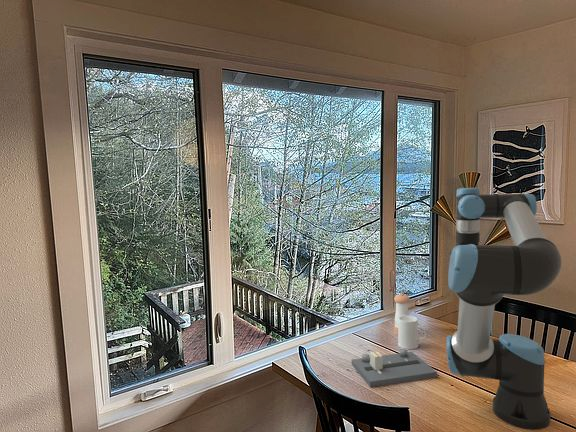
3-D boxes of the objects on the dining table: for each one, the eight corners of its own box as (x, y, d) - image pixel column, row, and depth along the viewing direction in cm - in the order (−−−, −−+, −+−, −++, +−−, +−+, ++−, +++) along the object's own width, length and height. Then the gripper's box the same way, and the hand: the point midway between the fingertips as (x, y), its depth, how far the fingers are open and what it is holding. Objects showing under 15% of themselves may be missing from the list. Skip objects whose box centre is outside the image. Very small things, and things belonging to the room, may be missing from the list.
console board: (437, 377, 145) (436, 366, 145) (370, 387, 140) (370, 376, 140) (411, 356, 163) (411, 346, 163) (351, 364, 158) (351, 354, 157)
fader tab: (382, 369, 148) (382, 355, 148) (375, 370, 147) (374, 356, 147) (377, 363, 152) (377, 350, 152) (370, 364, 152) (370, 351, 151)
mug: (428, 345, 173) (428, 318, 172) (422, 352, 166) (421, 324, 165) (402, 339, 180) (401, 314, 179) (394, 346, 173) (394, 319, 172)
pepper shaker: (400, 329, 192) (399, 290, 190) (413, 333, 186) (413, 293, 185) (391, 333, 187) (390, 293, 186) (404, 337, 182) (404, 296, 180)
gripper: (476, 229, 146) (476, 292, 148) (445, 231, 143) (445, 295, 145) (491, 231, 139) (490, 298, 141) (458, 234, 136) (457, 301, 138)
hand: (467, 296), depth 143 cm, fingers closed
